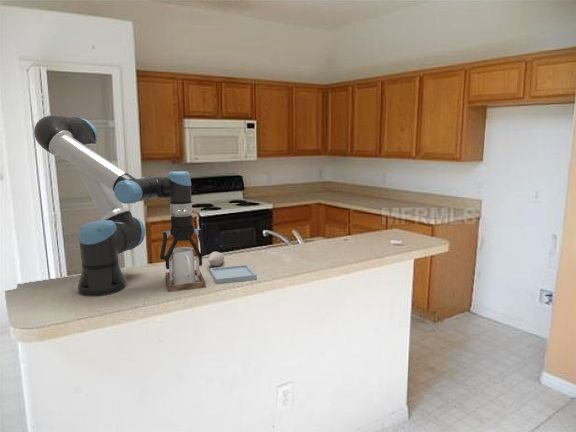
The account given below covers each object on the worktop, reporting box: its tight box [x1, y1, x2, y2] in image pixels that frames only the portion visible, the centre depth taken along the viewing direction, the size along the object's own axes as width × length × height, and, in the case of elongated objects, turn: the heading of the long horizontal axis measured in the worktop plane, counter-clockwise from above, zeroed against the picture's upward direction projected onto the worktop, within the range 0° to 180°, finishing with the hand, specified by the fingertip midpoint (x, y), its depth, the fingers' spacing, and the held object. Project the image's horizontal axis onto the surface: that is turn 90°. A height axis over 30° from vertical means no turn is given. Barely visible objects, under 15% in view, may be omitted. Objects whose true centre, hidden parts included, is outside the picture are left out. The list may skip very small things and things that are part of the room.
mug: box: [170, 246, 197, 285], centre depth 154 cm, size 12×8×12 cm
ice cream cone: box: [207, 251, 225, 267], centre depth 175 cm, size 6×6×15 cm
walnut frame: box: [165, 269, 207, 293], centre depth 155 cm, size 13×17×2 cm
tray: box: [209, 264, 258, 285], centre depth 162 cm, size 15×15×2 cm
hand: (184, 275), depth 155 cm, fingers open, 9 cm apart
